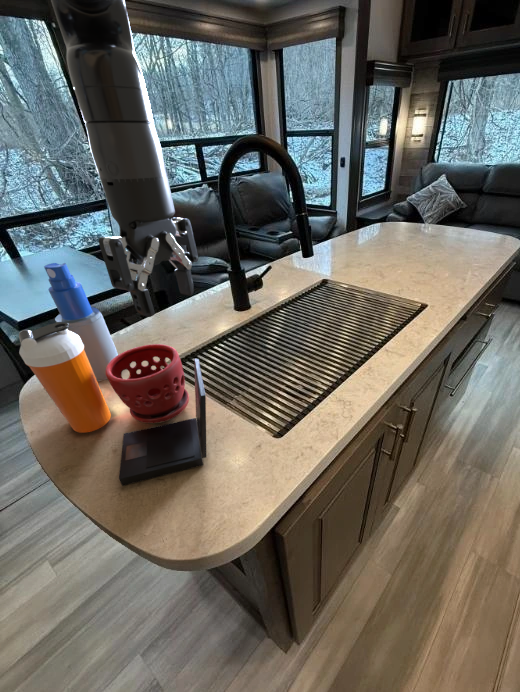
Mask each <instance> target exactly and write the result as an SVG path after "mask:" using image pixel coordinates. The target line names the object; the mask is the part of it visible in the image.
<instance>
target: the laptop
mask: <svg viewBox="0 0 520 692" xmlns="http://www.w3.org/2000/svg"><path fill="white" fill-rule="evenodd" d="M121 446H122V447H121V454H120V455H121V456H120V463H119V472H118V480H119V483H120V484H121V486H122V487H125V486H127V485H131V484H135V483H139V482H144V481H147V480H152V479H155V478H159V477H164V476H167V475H171V474H174V473H178V472H182V471H187V470H191V469H194V468H199V467H202V466H204V458H202V453H201V447H200V440H199V433H198V426H197V420H196V417H193V418H187V419H184V420H179V421H175V422H169V423H165V424H161V425H157V426H152V427H147V428H142V429H139V430H134V431H133V430H132V431H129V432H124V433H123V437H122V445H121Z"/></svg>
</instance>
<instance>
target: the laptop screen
mask: <svg viewBox="0 0 520 692" xmlns="http://www.w3.org/2000/svg"><path fill="white" fill-rule="evenodd" d="M193 360H194V365H193V367H194V368H193V369H194V371H193V372H194V373H193V374H194V399H195V402H194V403H195V418H196V420H197V426H198V433H199V440H200V447H201V453H202V458H203V459H206V458H207V397H206V391H205V386H204V380H203V376H202V374H203V373H202V369H201V365H200V364H201V363H200V359H199V358H193Z"/></svg>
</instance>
